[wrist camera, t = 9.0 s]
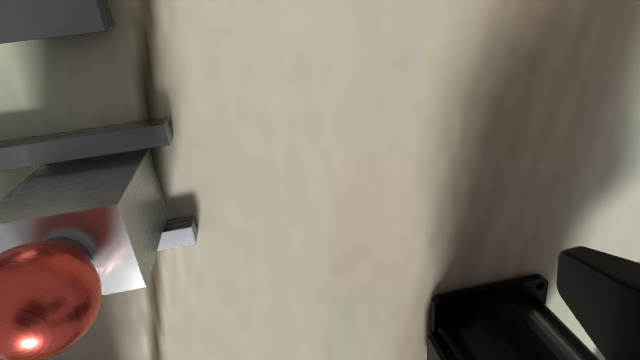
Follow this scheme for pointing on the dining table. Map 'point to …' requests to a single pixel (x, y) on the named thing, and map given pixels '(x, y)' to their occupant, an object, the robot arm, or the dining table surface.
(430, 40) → the dining table surface
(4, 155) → the ram track
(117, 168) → the handle
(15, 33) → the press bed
